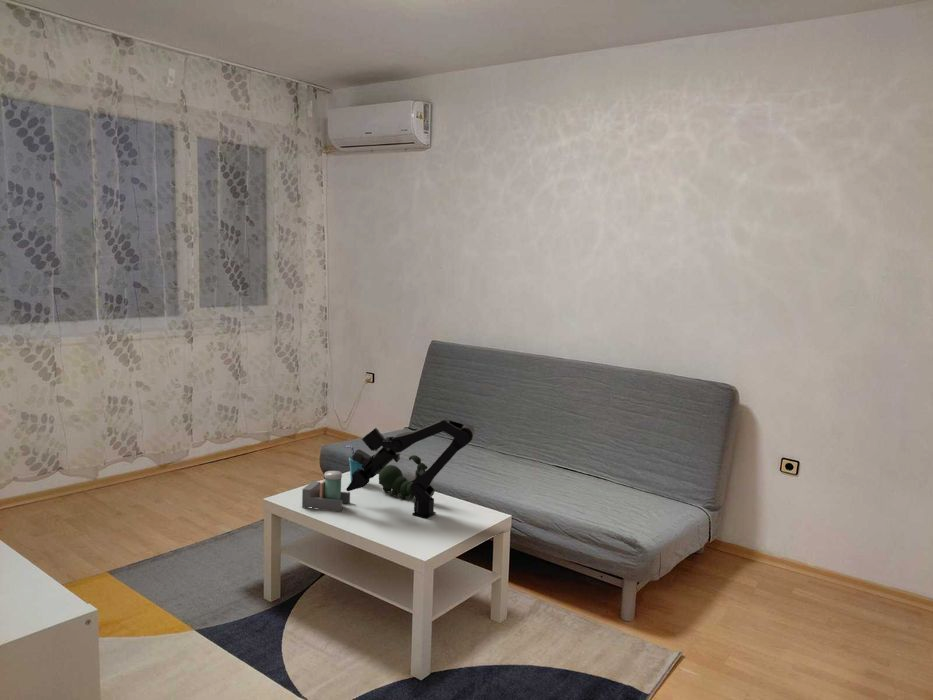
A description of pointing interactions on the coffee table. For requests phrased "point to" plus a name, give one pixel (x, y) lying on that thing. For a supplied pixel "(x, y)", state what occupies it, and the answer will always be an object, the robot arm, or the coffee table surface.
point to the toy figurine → (399, 479)
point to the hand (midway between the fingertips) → (351, 486)
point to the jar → (333, 484)
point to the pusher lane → (313, 498)
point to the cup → (353, 463)
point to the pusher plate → (322, 489)
